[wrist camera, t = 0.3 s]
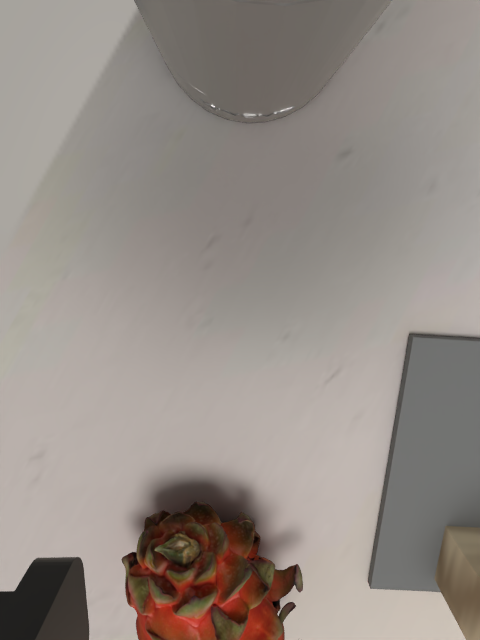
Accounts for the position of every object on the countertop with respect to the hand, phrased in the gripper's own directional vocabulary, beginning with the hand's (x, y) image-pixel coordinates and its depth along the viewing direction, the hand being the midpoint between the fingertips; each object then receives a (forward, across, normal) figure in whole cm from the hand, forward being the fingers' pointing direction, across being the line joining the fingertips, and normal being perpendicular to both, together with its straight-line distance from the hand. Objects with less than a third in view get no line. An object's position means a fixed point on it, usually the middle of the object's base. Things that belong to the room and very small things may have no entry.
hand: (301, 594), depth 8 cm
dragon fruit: (+19, +2, +14) cm, 23 cm away
